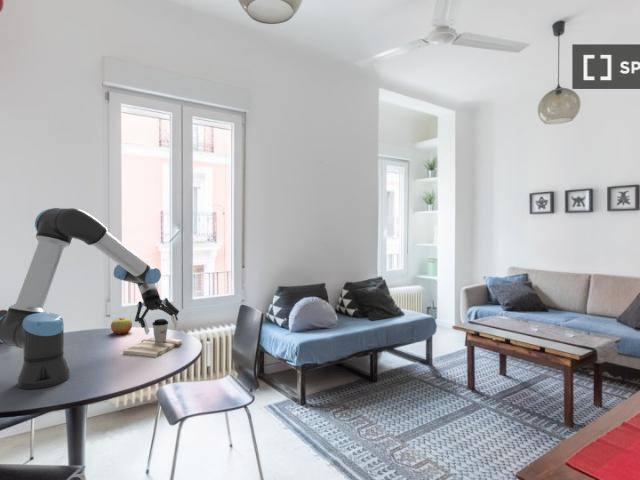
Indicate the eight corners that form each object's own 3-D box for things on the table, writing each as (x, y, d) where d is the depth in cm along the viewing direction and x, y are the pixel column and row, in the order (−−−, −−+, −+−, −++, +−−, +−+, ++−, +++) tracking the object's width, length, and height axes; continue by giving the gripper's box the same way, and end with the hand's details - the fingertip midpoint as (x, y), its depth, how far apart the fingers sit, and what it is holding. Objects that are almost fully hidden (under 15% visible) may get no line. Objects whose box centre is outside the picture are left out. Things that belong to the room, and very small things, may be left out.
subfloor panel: (159, 357, 163) (159, 353, 162) (120, 353, 167) (120, 349, 166) (185, 343, 182) (185, 339, 182) (149, 340, 186) (149, 336, 186)
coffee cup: (148, 342, 177) (148, 321, 176) (159, 338, 183) (159, 317, 183) (161, 344, 175) (161, 322, 174) (171, 340, 181) (171, 319, 181)
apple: (106, 334, 194) (106, 318, 194) (121, 329, 204) (121, 314, 203) (121, 336, 191) (121, 320, 191) (136, 331, 200) (136, 316, 200)
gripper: (172, 294, 198) (185, 329, 188) (120, 301, 180) (132, 339, 171) (176, 285, 194) (190, 320, 185) (124, 291, 177) (136, 330, 167)
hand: (162, 330), depth 178 cm, fingers open, 13 cm apart
